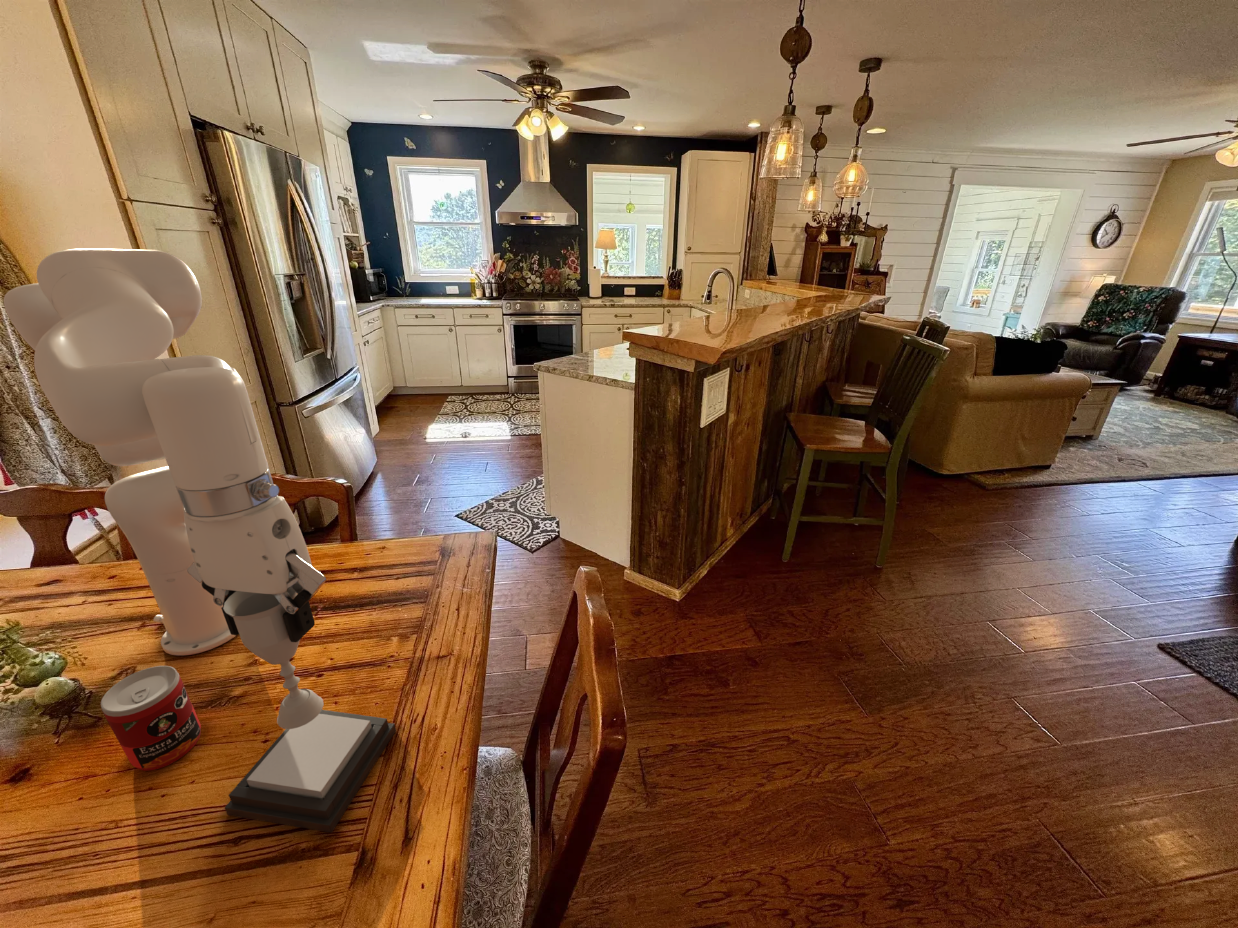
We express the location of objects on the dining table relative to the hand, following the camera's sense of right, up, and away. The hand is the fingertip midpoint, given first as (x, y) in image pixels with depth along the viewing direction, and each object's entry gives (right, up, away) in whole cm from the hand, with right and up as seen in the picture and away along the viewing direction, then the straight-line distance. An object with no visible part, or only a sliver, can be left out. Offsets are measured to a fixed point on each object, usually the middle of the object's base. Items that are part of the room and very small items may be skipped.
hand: (273, 629), depth 57 cm
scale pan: (0, -20, +8) cm, 21 cm away
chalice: (0, -12, +5) cm, 13 cm away
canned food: (-23, -21, +12) cm, 33 cm away
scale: (0, -22, +9) cm, 24 cm away
